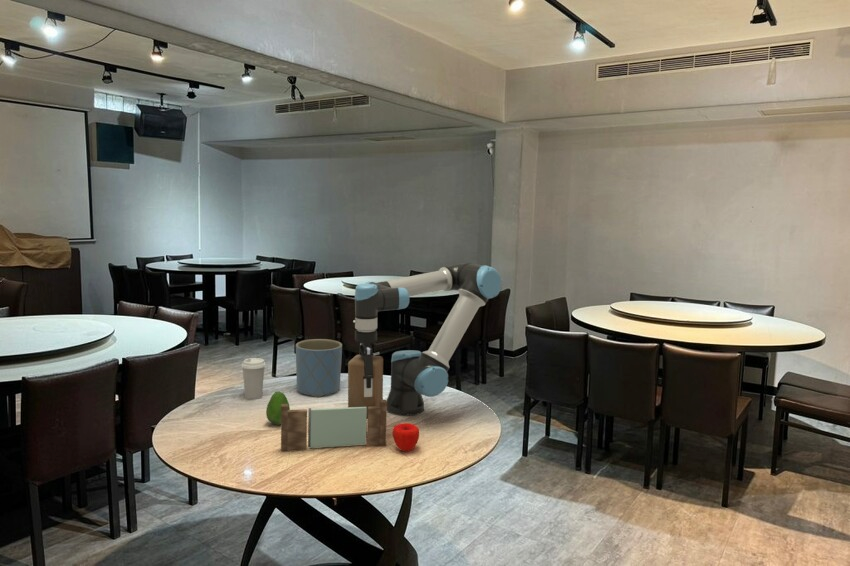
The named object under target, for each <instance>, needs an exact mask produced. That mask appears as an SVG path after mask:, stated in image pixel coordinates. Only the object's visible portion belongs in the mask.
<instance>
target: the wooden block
mask: <svg viewBox="0 0 850 566" xmlns="http://www.w3.org/2000/svg"><path fill="white" fill-rule="evenodd" d="M372 359H373V376H374V378H372V397H364V379H363V376H365V372H364V360H362V356H361V355H359V354H356V355H355V356H353V358H351V359H350V360H349V361H348V363H347V368H348V369H347V370H348V371H347V377H348V378H347V386H348V387H347V407H366V408H367V414H366V420H368V407H369V406H380V400H384V399H383V396H384V393H383V392H384V387H383V386H384V358H383V356H381V355H372ZM368 375H371V374H368Z"/></svg>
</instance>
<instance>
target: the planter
mask: <svg viewBox="0 0 850 566" xmlns="http://www.w3.org/2000/svg"><path fill="white" fill-rule="evenodd" d="M342 355H343V343H342V342H340V341H338V340H333V339H327V338H314V339H304V340H301V341H298V342H297V343H296V344H295V368H296V369H295V371H296V376H295V377H296V391H297V392H298V393H300V394H303V395H304V394H305V395H307V396H313V397H316V398H321V397H323V396H325V395H330V394H333V393H335V392H338V391H339V390H340V388H341V372H342V371H341V370H342Z"/></svg>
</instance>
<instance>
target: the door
mask: <svg viewBox="0 0 850 566" xmlns="http://www.w3.org/2000/svg"><path fill="white" fill-rule="evenodd" d="M366 414H367V408H366V407H348V406H346V407H334V408H333V407H331V408H330V407H328V408H325V407H324V408H311V407H309V408H308V415H307V448H310V449H311V448H313V449H314V448H331V447H333V448H334V447H344V446H345V447H347V446H348V447H349V446H363V445H366V446H367V419H366Z"/></svg>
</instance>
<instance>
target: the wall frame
mask: <svg viewBox="0 0 850 566" xmlns="http://www.w3.org/2000/svg"><path fill="white" fill-rule="evenodd" d="M387 414H388V411H387V399H383V400H380V406H369V407H368V419H366V446H367V447H375V446H376V447H377V446H378V447H383V446H386V445H387ZM307 448H308V409H307V408H305V409H303V408H302V409H301V408H300V409H290V410H288V404H281V424H280V452H281V453H284V452H285V453H286V452H292V451H293V452H294V451H307V450H308V449H307Z"/></svg>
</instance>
